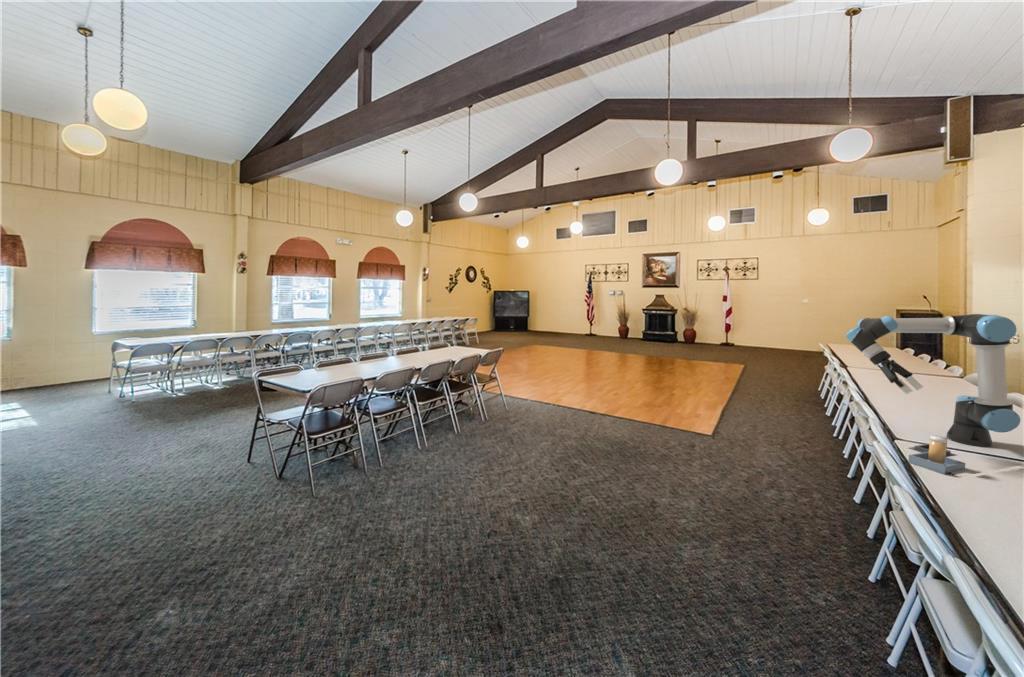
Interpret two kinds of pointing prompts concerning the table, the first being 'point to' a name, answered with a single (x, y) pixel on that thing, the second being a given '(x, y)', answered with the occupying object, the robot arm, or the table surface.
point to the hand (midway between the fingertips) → (915, 390)
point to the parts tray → (948, 466)
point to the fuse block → (926, 449)
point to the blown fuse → (937, 449)
